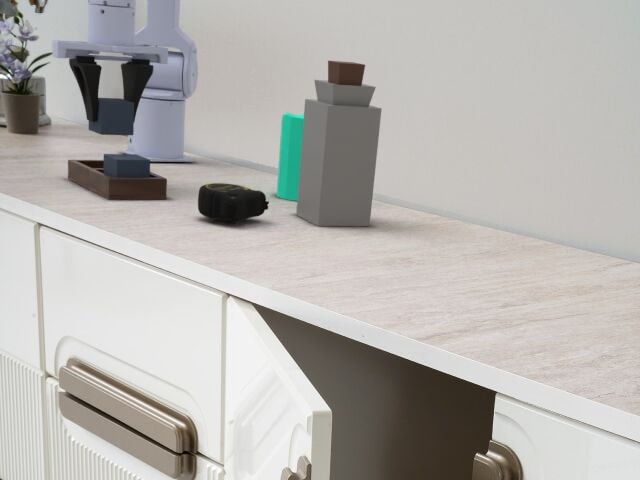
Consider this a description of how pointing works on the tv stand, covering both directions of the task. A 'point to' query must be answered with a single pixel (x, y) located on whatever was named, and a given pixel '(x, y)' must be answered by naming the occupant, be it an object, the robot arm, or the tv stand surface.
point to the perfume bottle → (339, 149)
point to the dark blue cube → (126, 166)
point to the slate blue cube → (114, 117)
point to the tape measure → (230, 202)
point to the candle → (290, 156)
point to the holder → (115, 182)
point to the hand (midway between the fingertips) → (110, 121)
